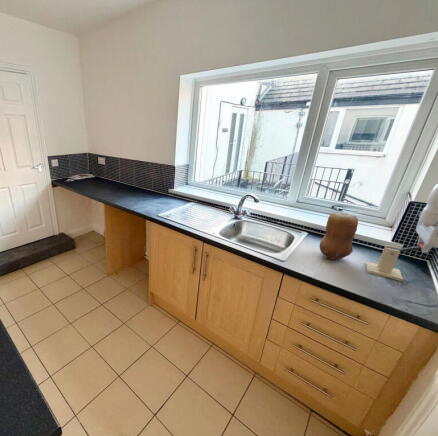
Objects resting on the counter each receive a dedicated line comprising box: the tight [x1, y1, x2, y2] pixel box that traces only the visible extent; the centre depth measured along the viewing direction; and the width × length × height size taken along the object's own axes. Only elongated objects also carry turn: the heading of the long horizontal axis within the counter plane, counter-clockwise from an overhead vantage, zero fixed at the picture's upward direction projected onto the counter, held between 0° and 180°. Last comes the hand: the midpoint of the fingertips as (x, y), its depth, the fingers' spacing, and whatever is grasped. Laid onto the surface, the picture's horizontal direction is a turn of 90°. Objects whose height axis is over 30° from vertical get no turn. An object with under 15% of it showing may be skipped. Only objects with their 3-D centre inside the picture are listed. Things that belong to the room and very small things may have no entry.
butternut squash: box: [319, 212, 359, 261], centre depth 122 cm, size 14×13×25 cm
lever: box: [390, 244, 424, 253], centre depth 108 cm, size 12×5×2 cm, turn 53°
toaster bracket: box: [365, 244, 404, 282], centre depth 113 cm, size 12×10×13 cm
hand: (422, 248), depth 105 cm, fingers open, 5 cm apart
